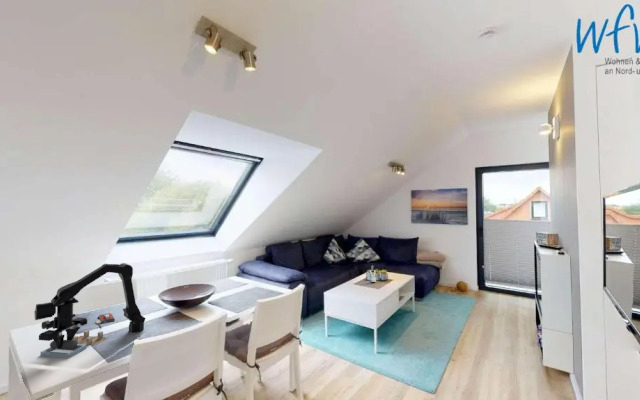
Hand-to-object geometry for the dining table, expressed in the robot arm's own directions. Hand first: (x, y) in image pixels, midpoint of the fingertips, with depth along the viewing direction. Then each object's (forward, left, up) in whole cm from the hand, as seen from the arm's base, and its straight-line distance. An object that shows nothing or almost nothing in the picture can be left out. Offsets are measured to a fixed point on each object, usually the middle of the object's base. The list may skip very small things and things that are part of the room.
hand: (64, 346), depth 135 cm
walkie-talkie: (+10, -34, -4) cm, 35 cm away
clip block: (-1, -11, -4) cm, 12 cm away
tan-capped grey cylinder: (0, 0, -1) cm, 1 cm away
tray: (0, 0, -4) cm, 4 cm away
